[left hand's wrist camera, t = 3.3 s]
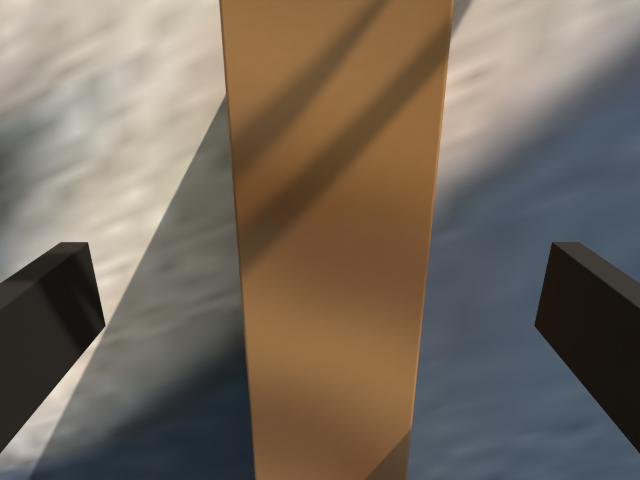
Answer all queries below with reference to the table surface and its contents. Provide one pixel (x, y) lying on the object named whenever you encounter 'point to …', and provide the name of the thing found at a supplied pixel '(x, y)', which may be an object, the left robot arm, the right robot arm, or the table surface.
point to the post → (333, 222)
